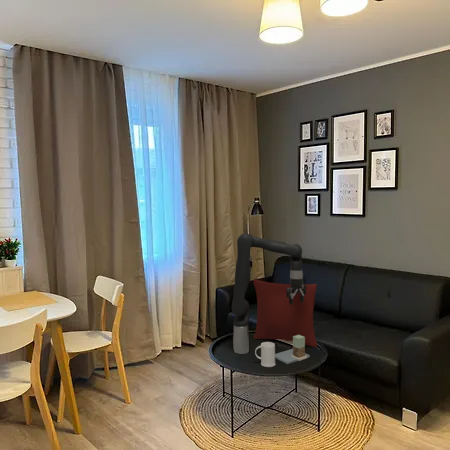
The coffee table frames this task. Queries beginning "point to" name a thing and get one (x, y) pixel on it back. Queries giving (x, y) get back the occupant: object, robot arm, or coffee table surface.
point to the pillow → (284, 313)
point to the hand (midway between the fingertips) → (296, 303)
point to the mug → (267, 354)
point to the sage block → (298, 341)
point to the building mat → (289, 356)
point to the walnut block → (298, 352)
